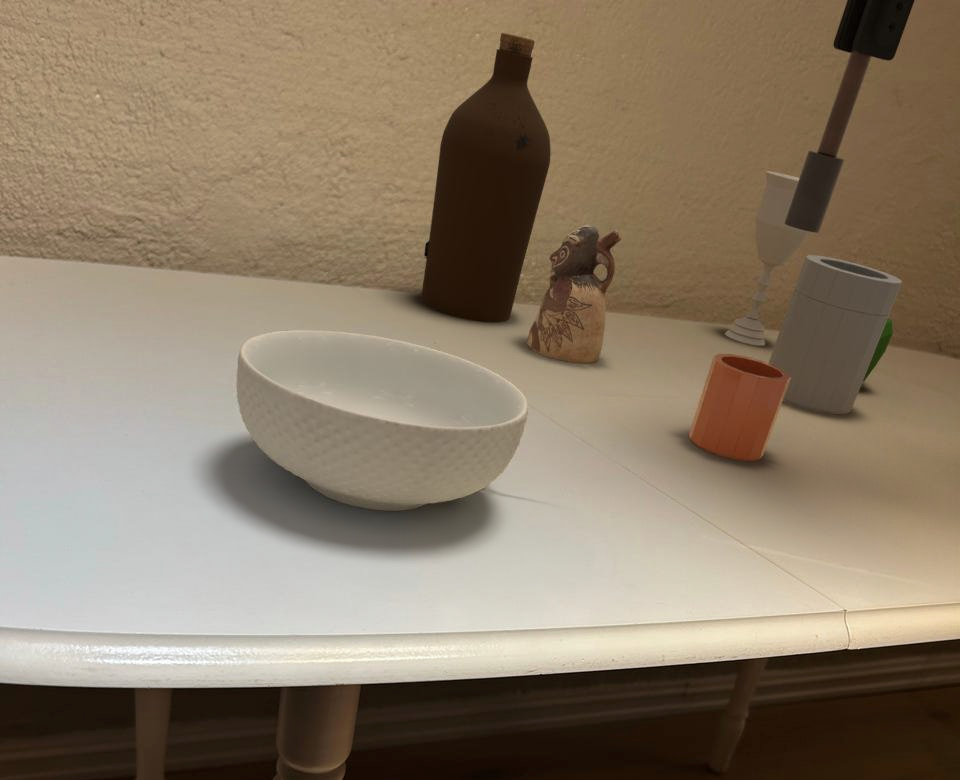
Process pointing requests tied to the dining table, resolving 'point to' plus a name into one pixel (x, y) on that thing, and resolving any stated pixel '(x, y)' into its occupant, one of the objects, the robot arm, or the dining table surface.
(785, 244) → the chalice
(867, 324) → the gray cylindrical pot
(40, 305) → the dining table surface
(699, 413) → the holder
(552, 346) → the figurine
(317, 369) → the cereal bowl
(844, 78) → the brush
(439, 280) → the olive oil
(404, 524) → the dining table surface
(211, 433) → the dining table surface
